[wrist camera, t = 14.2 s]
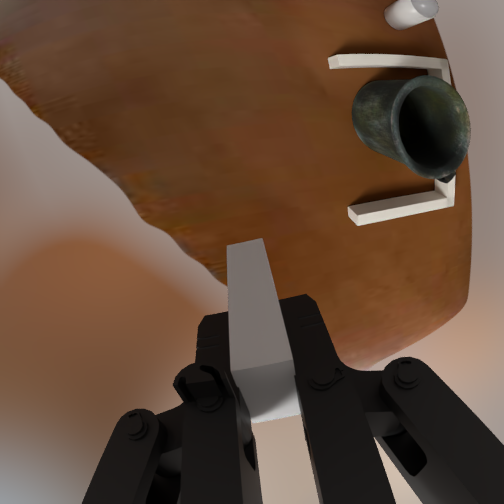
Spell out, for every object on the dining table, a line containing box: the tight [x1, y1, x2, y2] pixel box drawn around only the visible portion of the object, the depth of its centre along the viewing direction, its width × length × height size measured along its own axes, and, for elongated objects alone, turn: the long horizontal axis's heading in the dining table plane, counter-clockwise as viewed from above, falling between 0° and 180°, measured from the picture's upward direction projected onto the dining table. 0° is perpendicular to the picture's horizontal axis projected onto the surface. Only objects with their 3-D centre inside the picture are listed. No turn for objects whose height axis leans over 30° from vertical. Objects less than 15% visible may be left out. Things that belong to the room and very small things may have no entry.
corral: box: [328, 54, 455, 226], centre depth 34 cm, size 22×17×4 cm
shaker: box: [384, 0, 438, 30], centre depth 23 cm, size 4×4×9 cm
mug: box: [352, 75, 471, 183], centre depth 30 cm, size 11×15×12 cm
